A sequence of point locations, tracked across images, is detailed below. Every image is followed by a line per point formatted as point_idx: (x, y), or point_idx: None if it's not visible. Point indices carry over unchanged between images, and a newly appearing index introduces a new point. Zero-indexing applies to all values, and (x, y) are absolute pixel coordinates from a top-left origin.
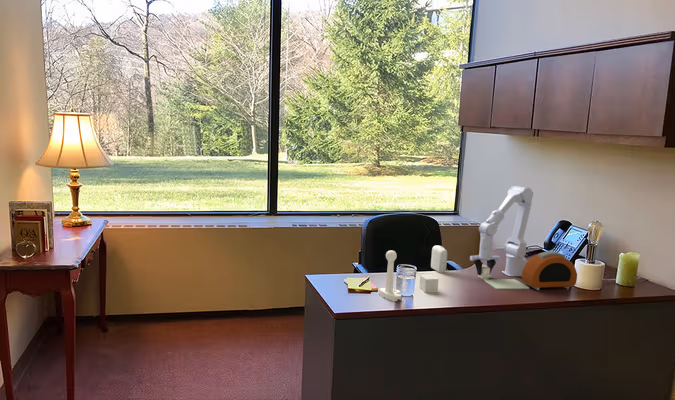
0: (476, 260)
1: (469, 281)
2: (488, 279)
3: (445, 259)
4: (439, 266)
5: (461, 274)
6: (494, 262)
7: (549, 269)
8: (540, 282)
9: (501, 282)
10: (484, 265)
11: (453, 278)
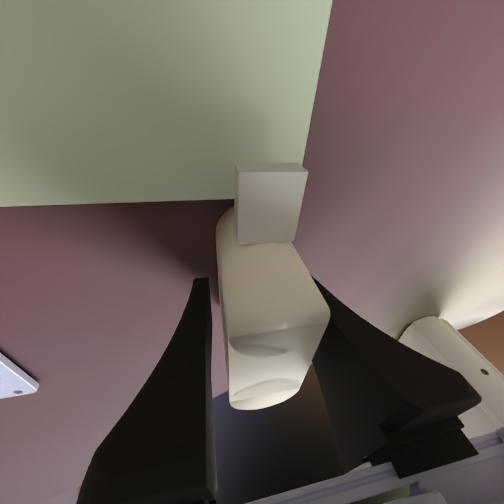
0: (468, 440)
1: (441, 166)
2: None
3: (493, 400)
4: (472, 347)
5: (352, 310)
6: (129, 486)
7: None
8: None
9: (86, 28)
10: (247, 390)
11: (472, 239)
